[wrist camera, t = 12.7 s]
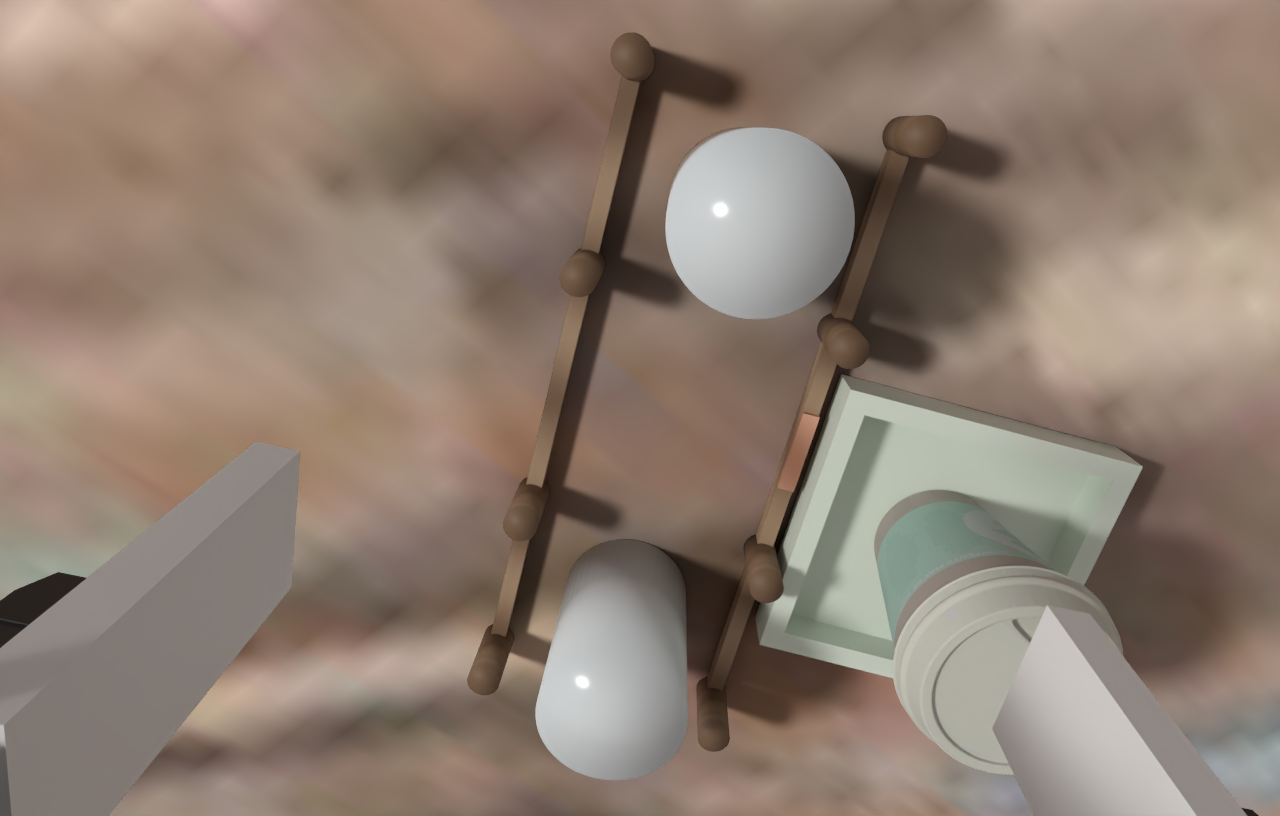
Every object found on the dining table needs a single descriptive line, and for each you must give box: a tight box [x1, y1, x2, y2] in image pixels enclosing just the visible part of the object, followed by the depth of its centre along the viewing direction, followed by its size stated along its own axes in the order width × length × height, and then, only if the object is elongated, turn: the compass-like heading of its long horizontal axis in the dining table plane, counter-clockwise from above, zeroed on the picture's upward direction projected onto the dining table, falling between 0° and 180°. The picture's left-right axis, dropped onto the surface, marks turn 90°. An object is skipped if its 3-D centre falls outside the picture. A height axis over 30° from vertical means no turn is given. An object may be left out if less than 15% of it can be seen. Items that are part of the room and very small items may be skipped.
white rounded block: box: [665, 127, 855, 319], centre depth 33 cm, size 6×6×10 cm
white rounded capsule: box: [536, 539, 688, 780], centre depth 40 cm, size 6×6×10 cm
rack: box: [467, 33, 947, 751], centre depth 40 cm, size 32×14×4 cm, turn 165°
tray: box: [755, 374, 1143, 678], centre depth 42 cm, size 14×14×2 cm
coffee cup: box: [874, 490, 1124, 775], centre depth 37 cm, size 8×9×12 cm
